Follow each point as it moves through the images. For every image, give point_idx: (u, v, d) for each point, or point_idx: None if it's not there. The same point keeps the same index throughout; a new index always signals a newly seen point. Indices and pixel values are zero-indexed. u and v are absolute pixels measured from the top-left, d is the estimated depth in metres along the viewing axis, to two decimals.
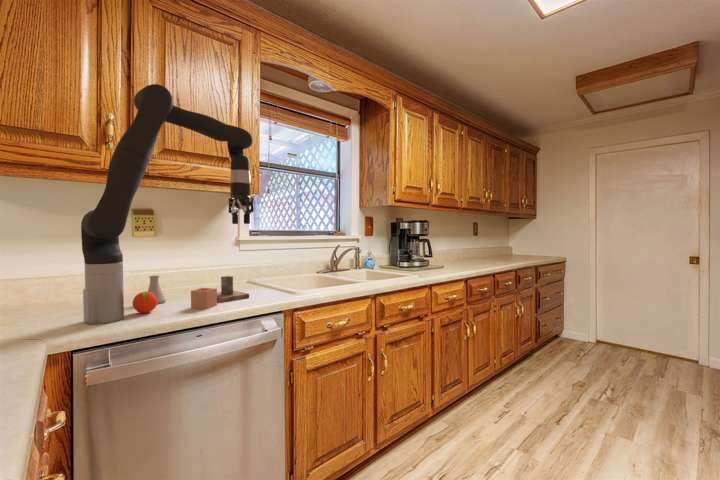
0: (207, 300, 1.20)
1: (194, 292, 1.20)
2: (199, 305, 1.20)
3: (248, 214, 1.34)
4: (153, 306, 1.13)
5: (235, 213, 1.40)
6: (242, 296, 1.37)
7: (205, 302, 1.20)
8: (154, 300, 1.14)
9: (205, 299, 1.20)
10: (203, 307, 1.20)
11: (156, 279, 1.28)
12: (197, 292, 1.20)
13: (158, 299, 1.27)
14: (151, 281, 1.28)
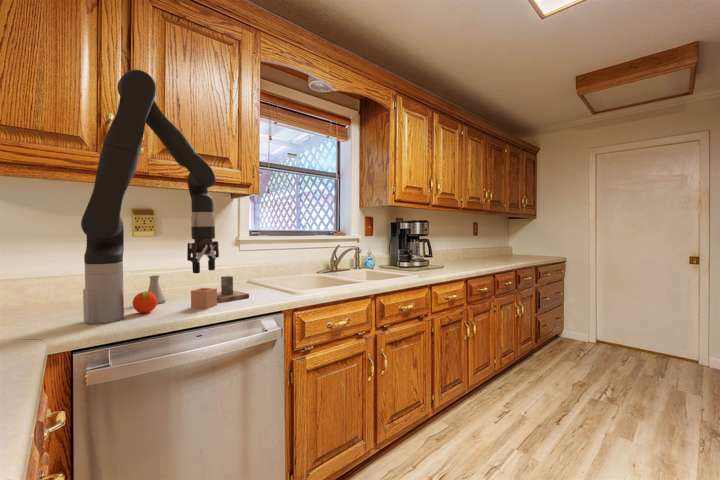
0: (207, 300, 1.20)
1: (194, 292, 1.20)
2: (199, 305, 1.20)
3: None
4: (153, 306, 1.13)
5: None
6: (242, 296, 1.37)
7: (205, 302, 1.20)
8: (154, 300, 1.14)
9: (205, 299, 1.20)
10: (203, 307, 1.20)
11: (156, 279, 1.28)
12: (197, 292, 1.20)
13: (158, 299, 1.27)
14: (151, 281, 1.28)
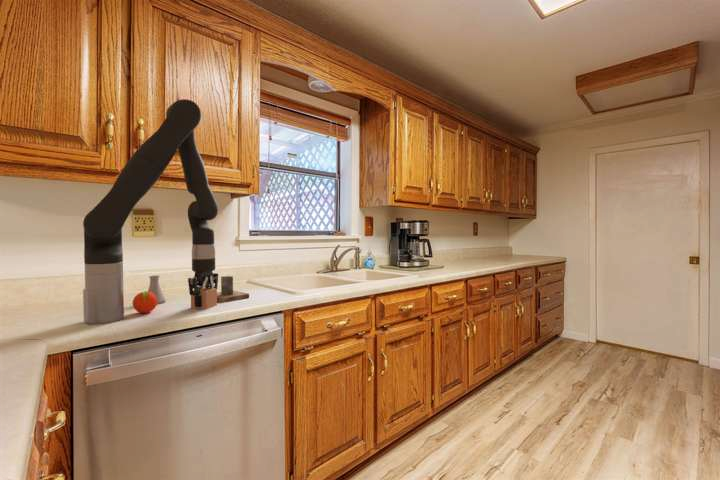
0: (207, 301, 1.20)
1: None
2: None
3: None
4: (153, 306, 1.13)
5: None
6: (242, 296, 1.37)
7: (205, 302, 1.20)
8: (154, 300, 1.14)
9: (205, 300, 1.20)
10: (203, 307, 1.20)
11: (156, 279, 1.28)
12: None
13: (158, 299, 1.27)
14: (151, 281, 1.28)
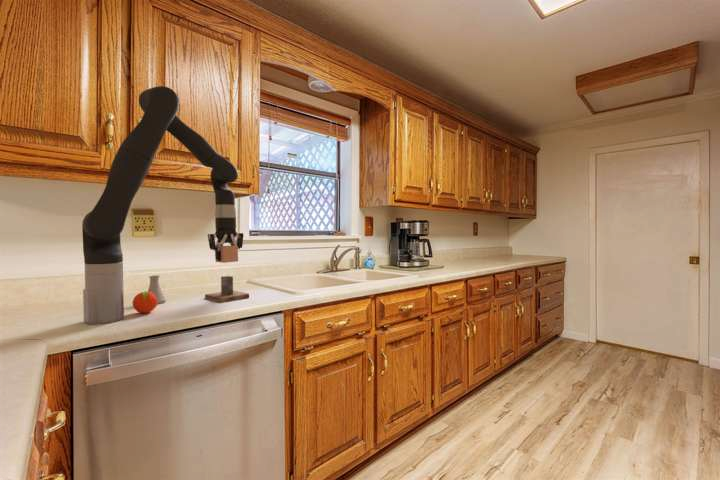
0: (224, 255, 1.32)
1: None
2: None
3: None
4: (153, 306, 1.13)
5: None
6: (242, 296, 1.37)
7: (222, 257, 1.32)
8: (154, 300, 1.14)
9: (222, 254, 1.32)
10: (222, 261, 1.32)
11: (156, 279, 1.28)
12: None
13: (158, 299, 1.27)
14: (151, 281, 1.28)
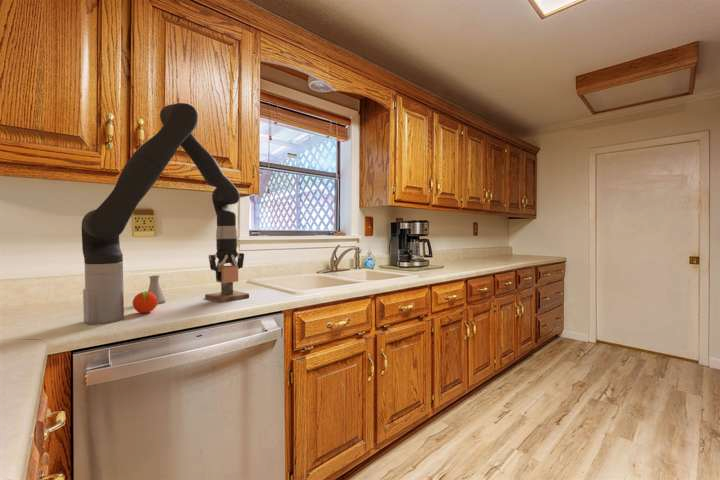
0: (225, 276, 1.34)
1: None
2: None
3: None
4: (153, 306, 1.13)
5: None
6: (242, 296, 1.37)
7: (223, 277, 1.34)
8: (154, 300, 1.14)
9: (223, 275, 1.34)
10: (222, 281, 1.35)
11: (156, 279, 1.28)
12: None
13: (158, 299, 1.27)
14: (151, 281, 1.28)
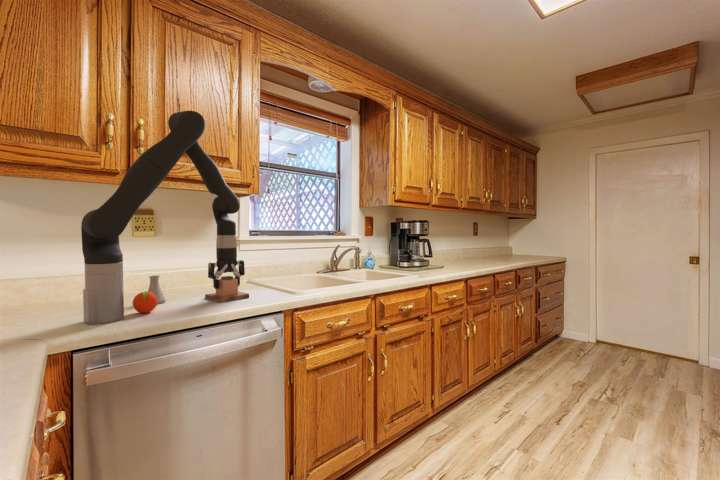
0: (224, 289, 1.34)
1: None
2: (220, 292, 1.35)
3: None
4: (153, 306, 1.13)
5: None
6: (242, 296, 1.37)
7: (222, 290, 1.34)
8: (154, 300, 1.14)
9: (222, 288, 1.34)
10: (221, 294, 1.35)
11: (156, 279, 1.28)
12: None
13: (158, 299, 1.27)
14: (151, 281, 1.28)
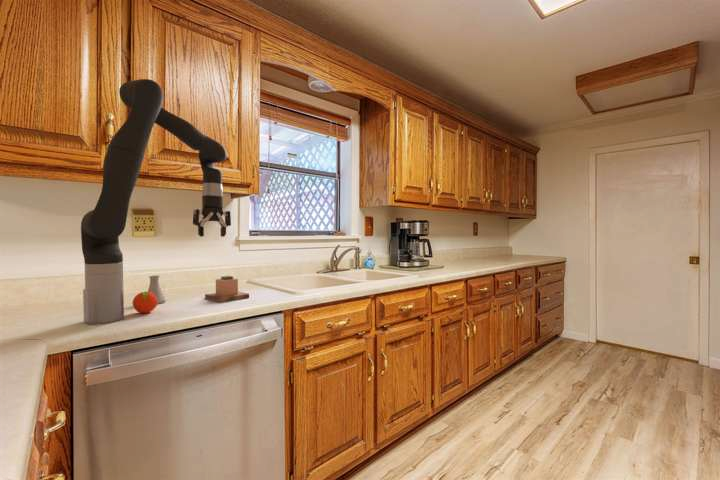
0: (224, 289, 1.34)
1: (217, 281, 1.37)
2: (220, 292, 1.35)
3: None
4: (153, 306, 1.13)
5: None
6: (242, 296, 1.37)
7: (222, 290, 1.34)
8: (154, 300, 1.14)
9: (222, 288, 1.34)
10: (221, 294, 1.35)
11: (156, 279, 1.28)
12: (218, 281, 1.36)
13: (158, 299, 1.27)
14: (151, 281, 1.28)
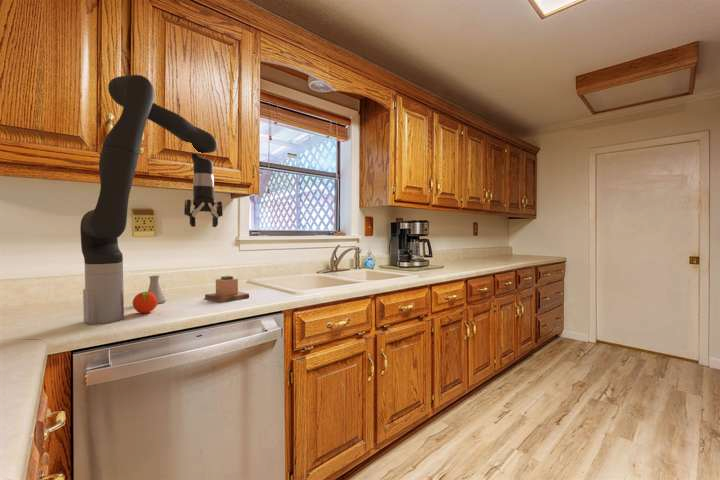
0: (224, 289, 1.34)
1: (217, 281, 1.37)
2: (220, 292, 1.35)
3: None
4: (153, 306, 1.13)
5: None
6: (242, 296, 1.37)
7: (222, 290, 1.34)
8: (154, 300, 1.14)
9: (222, 288, 1.34)
10: (221, 294, 1.35)
11: (156, 279, 1.28)
12: (218, 281, 1.36)
13: (158, 299, 1.27)
14: (151, 281, 1.28)
